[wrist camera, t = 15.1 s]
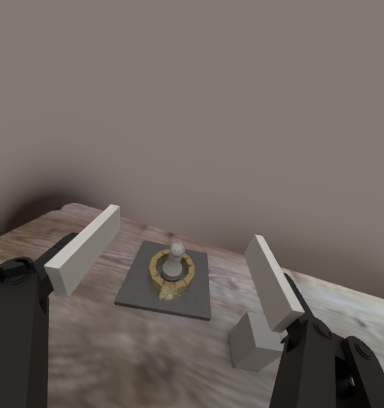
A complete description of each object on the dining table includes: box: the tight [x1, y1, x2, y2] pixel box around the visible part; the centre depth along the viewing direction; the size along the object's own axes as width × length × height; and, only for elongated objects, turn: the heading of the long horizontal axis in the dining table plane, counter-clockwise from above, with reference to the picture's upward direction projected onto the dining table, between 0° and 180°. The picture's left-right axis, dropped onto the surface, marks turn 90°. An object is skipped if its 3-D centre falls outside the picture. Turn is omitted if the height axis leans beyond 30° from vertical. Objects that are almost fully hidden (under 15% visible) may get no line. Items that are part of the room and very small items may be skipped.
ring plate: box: [115, 241, 211, 321], centre depth 32 cm, size 17×15×3 cm
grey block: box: [229, 311, 284, 372], centre depth 22 cm, size 4×4×8 cm
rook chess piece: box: [161, 241, 185, 281], centre depth 30 cm, size 4×4×8 cm
